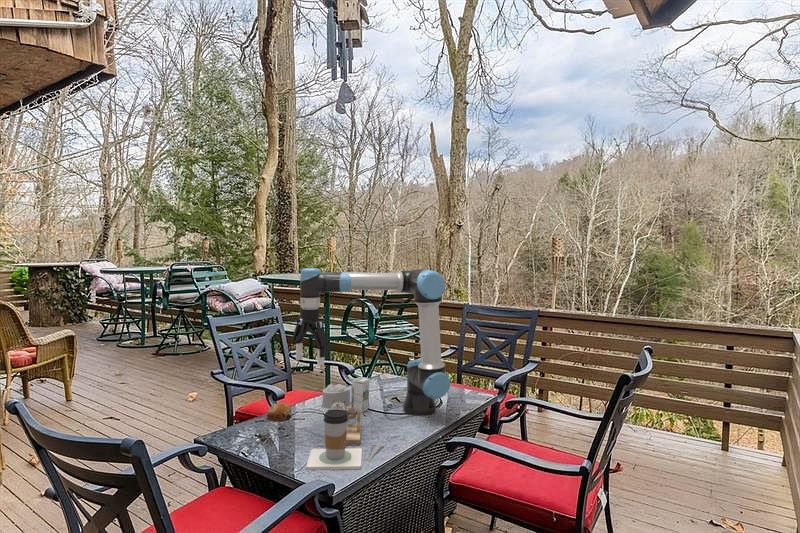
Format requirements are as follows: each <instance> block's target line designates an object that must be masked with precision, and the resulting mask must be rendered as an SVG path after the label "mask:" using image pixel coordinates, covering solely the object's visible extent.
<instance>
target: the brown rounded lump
mask: <svg viewBox="0 0 800 533" xmlns="http://www.w3.org/2000/svg"><path fill="white" fill-rule="evenodd" d="M291 415H292V410H291V408H290V407H289V405H287V404H286V403H283V402H277V403H275V404H272V405H271V406H270V407H269V409H268V410H267V412H266V417H267V419H268V420H269V421H271V420H272V422H285V421H287V420H289V419H291ZM284 420H285V421H284Z"/></svg>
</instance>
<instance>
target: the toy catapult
mask: <svg viewBox="0 0 800 533" xmlns="http://www.w3.org/2000/svg"><path fill="white" fill-rule="evenodd" d="M346 413H347V415H348V420H349V419H350V420H354V419H356V423H347V435H346V446H361V445H360V444H361V435H362V423H361V413H360V410H357V411H355V409H354V408H353V407H352V406H351V407H349V408H348V409H347V411H346Z"/></svg>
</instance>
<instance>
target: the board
mask: <svg viewBox="0 0 800 533" xmlns="http://www.w3.org/2000/svg"><path fill="white" fill-rule="evenodd" d="M362 459H363V447H361V448H360V447H359V448H356V447H355V448H349V447H348V448H346V447H345V455H344V457H343V458H341V459H338V460H331V459H328V458H327V456H326V448H311V451H310V454H309V457H308V460H307V463H306V467H305V470H306V471H317V470H318V471H319V470H323V471H324V470H326V471H327V470H334V471H335V470H339V471H340V470H362V461H363V460H362Z"/></svg>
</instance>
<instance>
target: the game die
mask: <svg viewBox="0 0 800 533" xmlns="http://www.w3.org/2000/svg"><path fill="white" fill-rule="evenodd" d="M333 402H334V401H333ZM346 406H347V405H346ZM346 406H345V401H344V402H334V403H333V405H332V406H331V408H329V409H327V411H330V410H344V411H348V409H347V407H346ZM327 411H326V412H327Z"/></svg>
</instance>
